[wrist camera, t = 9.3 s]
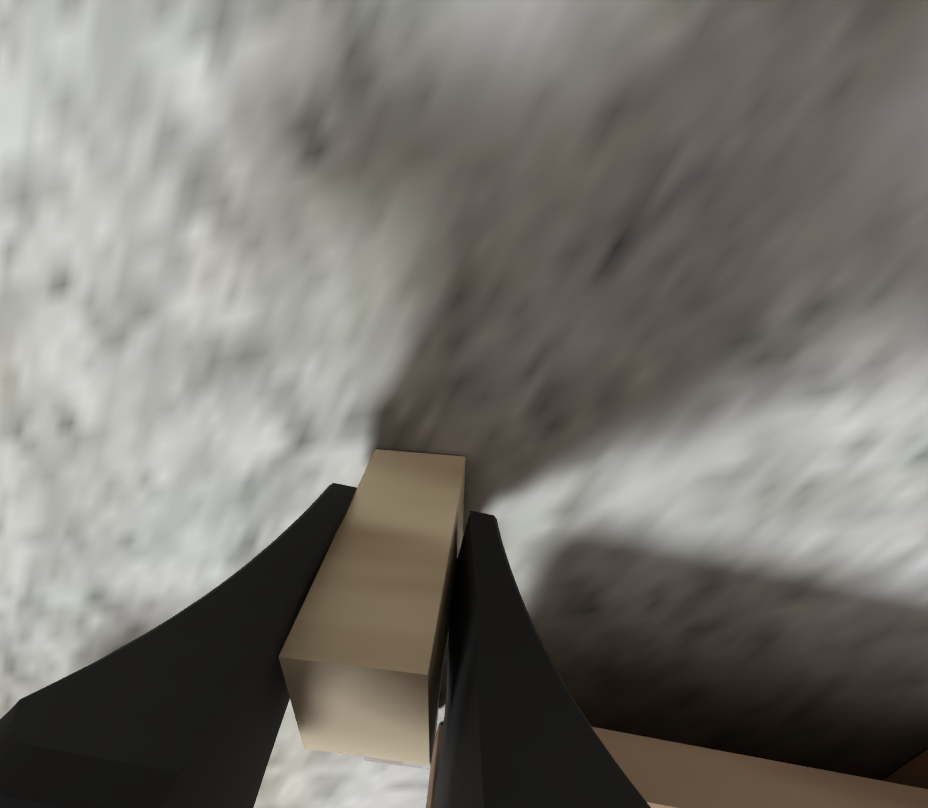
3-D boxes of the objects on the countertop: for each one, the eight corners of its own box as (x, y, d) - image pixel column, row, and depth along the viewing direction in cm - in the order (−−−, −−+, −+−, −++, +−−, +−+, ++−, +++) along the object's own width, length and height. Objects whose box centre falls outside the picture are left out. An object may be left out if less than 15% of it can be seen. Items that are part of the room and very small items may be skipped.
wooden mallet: (456, 715, 19) (432, 928, 14) (378, 705, 19) (327, 911, 14) (465, 456, 13) (427, 674, 8) (349, 446, 13) (234, 651, 8)
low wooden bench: (865, 820, 21) (957, 994, 17) (433, 741, 21) (414, 902, 16) (1043, 704, 16) (1237, 909, 12) (482, 595, 16) (475, 771, 11)
